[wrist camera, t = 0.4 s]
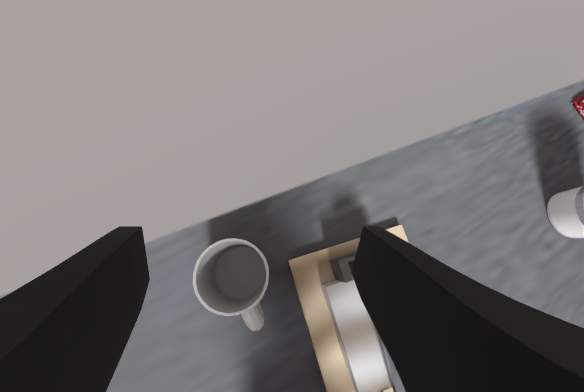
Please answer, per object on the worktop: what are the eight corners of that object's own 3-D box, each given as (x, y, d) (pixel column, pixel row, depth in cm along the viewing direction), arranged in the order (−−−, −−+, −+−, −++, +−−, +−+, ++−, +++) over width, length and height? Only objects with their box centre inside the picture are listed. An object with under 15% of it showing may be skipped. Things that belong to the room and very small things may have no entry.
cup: (255, 233, 36) (250, 226, 27) (287, 305, 34) (293, 322, 26) (203, 257, 35) (181, 257, 26) (233, 333, 33) (221, 360, 24)
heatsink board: (455, 378, 34) (492, 402, 28) (337, 428, 32) (352, 464, 26) (397, 225, 38) (420, 220, 32) (287, 260, 35) (291, 260, 30)
